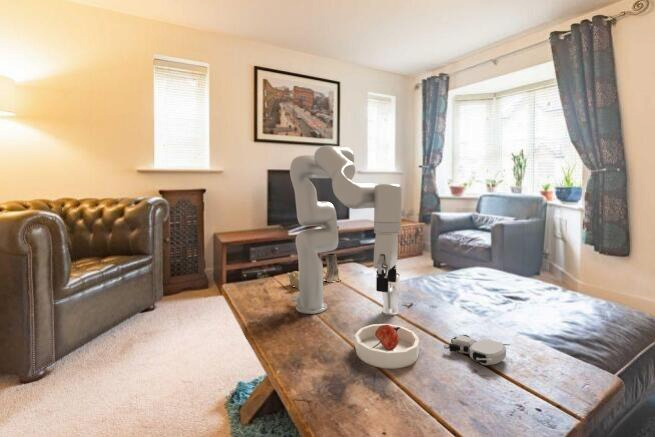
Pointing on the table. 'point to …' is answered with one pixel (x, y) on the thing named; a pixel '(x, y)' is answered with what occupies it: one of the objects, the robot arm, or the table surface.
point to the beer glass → (392, 297)
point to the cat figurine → (294, 278)
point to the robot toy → (479, 349)
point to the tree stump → (331, 268)
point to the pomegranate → (387, 336)
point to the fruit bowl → (379, 355)
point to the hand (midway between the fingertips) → (386, 286)
